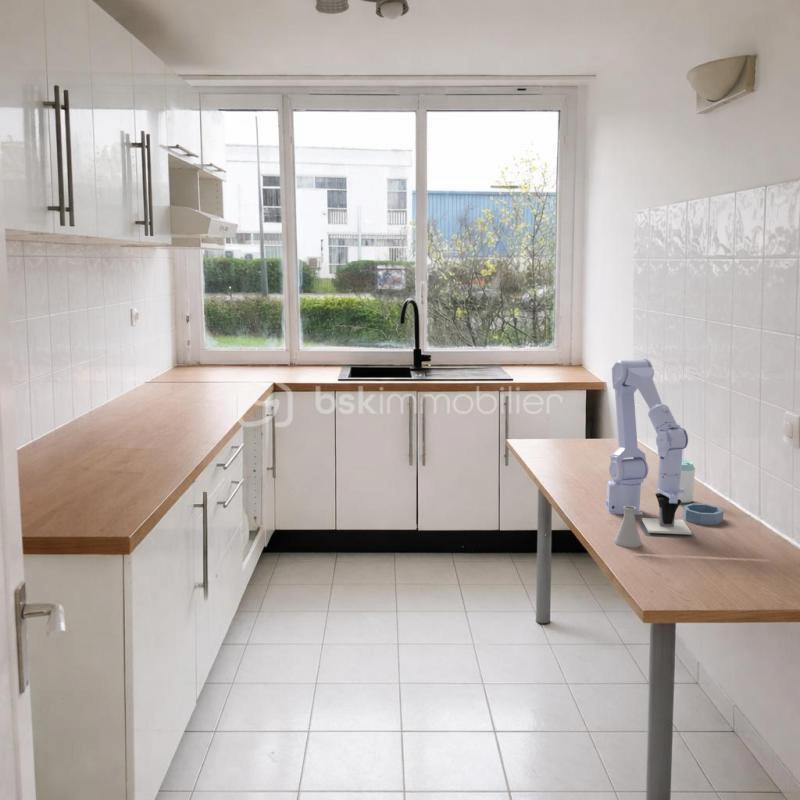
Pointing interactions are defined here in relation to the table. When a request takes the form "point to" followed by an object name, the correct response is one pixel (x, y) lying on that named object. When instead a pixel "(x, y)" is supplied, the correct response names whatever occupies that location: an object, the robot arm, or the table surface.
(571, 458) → the table surface
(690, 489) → the can
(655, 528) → the lid
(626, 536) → the flask
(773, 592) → the table surface
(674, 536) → the mat
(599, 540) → the table surface
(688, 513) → the bowl
